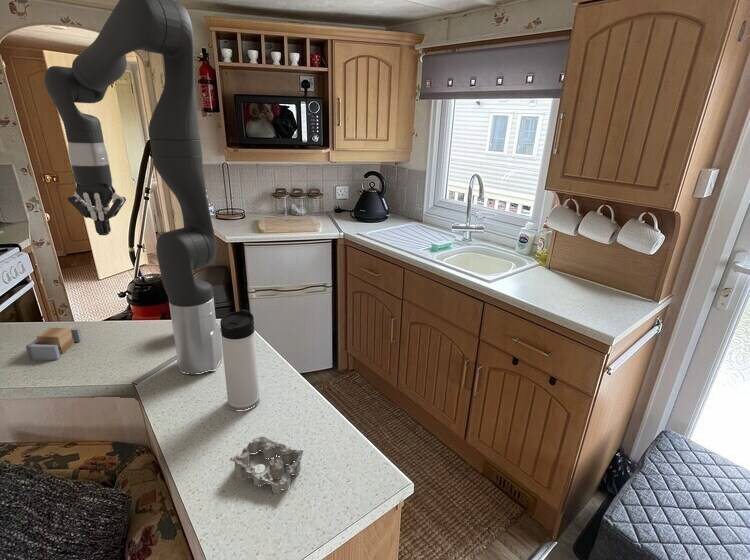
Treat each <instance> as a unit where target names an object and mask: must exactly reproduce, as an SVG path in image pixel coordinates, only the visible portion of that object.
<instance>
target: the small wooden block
mask: <svg viewBox="0 0 750 560" xmlns="http://www.w3.org/2000/svg"><path fill="white" fill-rule="evenodd" d="M70 328H71V327H48V328H47V329H45V330H44V331H43V332H41V333H39V334H38V335H36V336H35V337H36V339H37V341H38V344H39V345H58V349H59V353H60V354H63V355H64V354H66V353H67V352H68V351H69V350H70V349H72V348H73V347H74V346H75V343H76V342H75V340H74V339H73V338H72V333H71V329H70ZM72 346H73V347H72ZM71 347H72V348H71ZM68 349H69V350H68ZM67 350H68V351H67ZM66 351H67V352H66Z"/></svg>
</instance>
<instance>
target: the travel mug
mask: <svg viewBox="0 0 750 560" xmlns="http://www.w3.org/2000/svg"><path fill="white" fill-rule="evenodd" d="M254 319H255V318H254V315H253V314H252V313H251V311H250V309H249V310H247V309H243V308H242V309H241V310H239V311H234V312H233V311H232V312H229V313H226V315H224V316H223V317H222V318H221V319H220V323H219V325H220V335H221V345H222V355H223V366H224V367H223V368H224V374H225V376H224V377H225V385H226V397H227V405H229V406H228V408H229V407H230V408H232V409H234V410H245V409H248V408H251V407H253V406H254V405H256V404H257V403H258V401H259V402H260V391H259V390H260V389H259V375H258V359H257V345H256V330H255V320H254ZM258 404H259V403H258ZM258 404H257V405H258ZM230 408H229V409H230ZM232 409H231V410H232ZM234 410H233V411H234Z"/></svg>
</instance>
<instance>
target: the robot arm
mask: <svg viewBox="0 0 750 560" xmlns="http://www.w3.org/2000/svg"><path fill="white" fill-rule="evenodd" d="M141 50H142V51H143V52H147V53H154V54H160V55H162V56H163V57H162V58H163V66H164V83H163V89H162V93H161V95H160V97H159V99H158V102H157V103H156V106H155V109H153V110H154V111H153V113H152V116H151V118H150V120H149V124H148V139H149V145H150V151H151V159H152V162H153V165H154V167H155V169H156V172H157V173H158V174H159V176H160V178H161V179H162V180H163V182H164V183H165V184H166V186H168V188H169V189H170V191H171V192H172V193H173V195H174V196H175V197H176V199H177V201H178V204H179V206H180V210H181V215H182V221H183V227H181V228H177V229H173V230H169V231H166V232H163V233H161V234H160V235H159V236H158V238H157V241H156V245H155V246H156V248H155V250H156V258H157V262H158V266H159V271H160V277H161V282H162V285H163V288H164V291H165V293H166V295H167V299H168V305H169V311H170V319H171V326H172V331H173V339H174V344H175V345H174V346H175V352H176V353H175V354H176V359H177V365H178V366H177V367H178V370H179V369H180V370H181V371H182V372H185V373H189V374H196V373H202V372H205V371H208V370H214V369H216V367H217V365H218V363H219V361H220V360H221V358H222V356H223V348H222V338H221V325H220V323H217V319H216V310H215V308H216V307H215V300H214V298H215V297H214V290H213V286H212V284H211V283H210V282H208V281H205V280H199V279H195V276H194V272H193V271H194V270H197V269H199V268H202V267H203V268H204V267H205V266H207V265H210V264H211V263H213V261H215V258H216V257H217V256H216V255H217V240H216V235H215V230H214V225H213V221H212V217H211V212H210V207H209V200H208V196H207V188H206V182H205V180H206V179H205V174H204V163H203V162H204V161H203V151H202V142H201V134H200V128H199V122H198V121H199V120H198V111H197V110H198V109H197V100H196V97H197V96H196V87H195V86H196V85H195V83H196V81H195V80H196V79H195V37H194V28H193V23H192V20H191V17H190V13H189V12H188V10H187V8H186V7H185V6H184V5H183V4H182V3H181V2H178V1H177V0H119V1H118V2H117V3H116V5H115V6H114V7H113V10H112V11H111V12H110V15H109V17H108V18H107V20H106V21H105V23H104V24H103V27H102V28H101V30H100V31H99V33H98V35H97V37H96V38H95V39H94V41H93V42H92V43H90V45H89V46H87V47H86V48H85V49H84V50H83V51H81V52H80V53H79V54H78V55H77V56H76V57H75V58H74V59H73V60H72V65H71V67H67V66H61V65H52V66H50V67H48V68H47V69H46V71H45V74H44V78H43V79H44V85H45V89H46V90H47V93H48V95H49V96H50V99H51V100H52V102H53V104H54V106H55V108H56V111H57V112H58V114H59V116H60V119H61V121H62V124H63V127H64V130H65V131H64V132H65V137H66V140H67V148H68V149H67V153H68V157H69V161H70V167H71V171H72V175H73V176H72V177H73V181H74V183H75V185H76V188H75V192H74V193H73V195H71V196H68V197H67V201H68V202H69V203H70V204H71V205H72V206H73V207H74V208H75V209H76V210H77V211H78V213H80V214H81V215H82V216H83V217H84V218H85V219H87V218H89V219H91V220H92V221H93V222H94V223H93V224H94V228H95V232H96V233H97V234H98V235H99V236H108V235H109V234H110V233H111V223H110V219H112V218H115V217H116V216H117V215H118V214H119V212H120V210H121V209H122V207H123V206H124V204H125V203H126V201H127V198H126V197H125V196H121V195H119V194H117V193H116V190H115V188H114V187H113V178H112V174H111V173H112V172H111V167H110V161H109V155H108V152H107V151H108V150H107V148H106V145H105V141H104V136H103V135H104V133H103V129H102V125H101V121H100V119H99V118H98V117H97V116H95V115H92V114H88V113H83V112H82V111H80V109H79V108H78V106H77V105H76V104H96V103H100V102H101V101H102V100H103V99H104V98H105V95H106V93H107V91H108V88H109V87H110V86H111V85H112V84H114V83H115V82H116V81H118V80H119V79H120V78H121V77H123V76H124V74H125V72H126V69H127V66H128V65H127V64H128V62H127V55H128V54H130V53H132V52H136V51H141ZM111 202H112V205H110V203H111ZM221 361H222V360H221ZM217 368H218V367H217ZM180 370H179V371H180ZM216 370H217V369H216ZM181 371H180V372H181ZM182 372H181V373H182Z"/></svg>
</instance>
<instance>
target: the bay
mask: <svg viewBox="0 0 750 560" xmlns="http://www.w3.org/2000/svg"><path fill="white" fill-rule="evenodd" d="M69 328H70V329H71V333H72V338H73V339H74V340H75V343H81V342H82V341H83V336H82V332H81V329H80V328H81V327H69ZM25 348H26V352H27V356H28V359H29V360H35V361H36V360H45V361H46V360H47V361H48V360H49V361H52V360H53V361H59V360H60V359H61V358H62V356H61V355H60V353H59V349H58V345H39V344H38V341H37V338H36V339H35V340H33V341H31V342H30V343H29V344H27V345H26V346H25Z"/></svg>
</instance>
